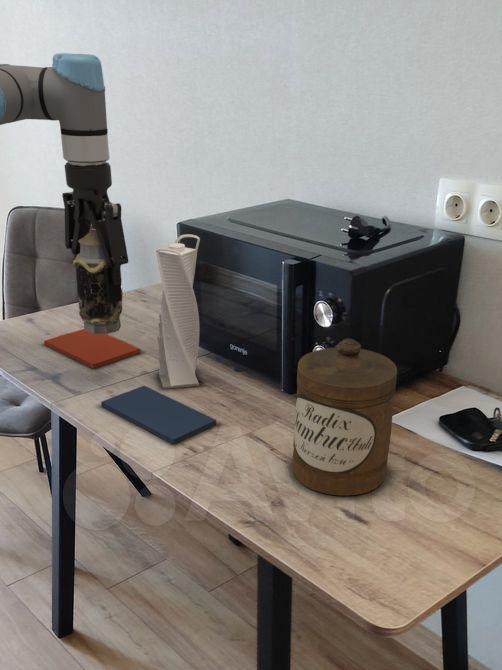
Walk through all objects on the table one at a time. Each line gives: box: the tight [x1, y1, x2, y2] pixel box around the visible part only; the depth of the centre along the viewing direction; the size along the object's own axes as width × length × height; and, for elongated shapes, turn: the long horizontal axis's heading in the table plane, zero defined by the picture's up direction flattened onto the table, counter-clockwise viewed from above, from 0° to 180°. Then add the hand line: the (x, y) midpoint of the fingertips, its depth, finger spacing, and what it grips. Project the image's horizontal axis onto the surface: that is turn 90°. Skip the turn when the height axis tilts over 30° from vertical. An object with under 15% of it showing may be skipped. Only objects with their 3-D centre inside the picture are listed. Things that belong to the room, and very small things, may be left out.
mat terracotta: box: [43, 328, 141, 369], centre depth 152 cm, size 18×12×1 cm, turn 48°
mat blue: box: [100, 385, 217, 445], centre depth 126 cm, size 20×10×1 cm, turn 47°
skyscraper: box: [155, 233, 201, 390], centre depth 132 cm, size 8×8×28 cm
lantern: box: [72, 209, 124, 335], centre depth 126 cm, size 9×8×25 cm
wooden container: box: [292, 338, 398, 496], centre depth 106 cm, size 15×15×22 cm
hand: (100, 295), depth 129 cm, fingers closed on lantern, 8 cm apart
